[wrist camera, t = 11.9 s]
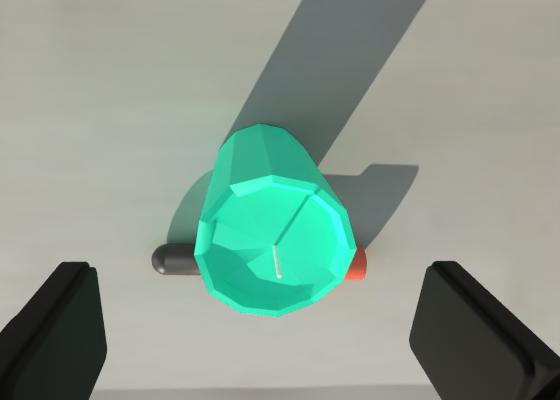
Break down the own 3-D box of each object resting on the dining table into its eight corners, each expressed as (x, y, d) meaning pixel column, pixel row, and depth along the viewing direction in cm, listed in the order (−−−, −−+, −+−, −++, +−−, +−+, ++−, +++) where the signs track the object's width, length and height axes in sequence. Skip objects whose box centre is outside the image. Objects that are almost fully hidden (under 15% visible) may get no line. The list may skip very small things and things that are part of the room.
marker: (156, 266, 25) (148, 285, 23) (154, 236, 24) (145, 253, 22) (353, 267, 26) (363, 286, 24) (358, 239, 25) (369, 256, 23)
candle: (308, 120, 22) (374, 184, 11) (309, 210, 24) (364, 339, 13) (209, 125, 22) (173, 196, 10) (219, 217, 24) (197, 355, 13)
